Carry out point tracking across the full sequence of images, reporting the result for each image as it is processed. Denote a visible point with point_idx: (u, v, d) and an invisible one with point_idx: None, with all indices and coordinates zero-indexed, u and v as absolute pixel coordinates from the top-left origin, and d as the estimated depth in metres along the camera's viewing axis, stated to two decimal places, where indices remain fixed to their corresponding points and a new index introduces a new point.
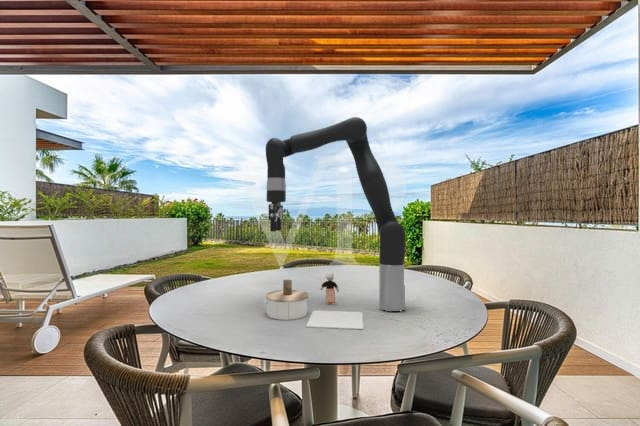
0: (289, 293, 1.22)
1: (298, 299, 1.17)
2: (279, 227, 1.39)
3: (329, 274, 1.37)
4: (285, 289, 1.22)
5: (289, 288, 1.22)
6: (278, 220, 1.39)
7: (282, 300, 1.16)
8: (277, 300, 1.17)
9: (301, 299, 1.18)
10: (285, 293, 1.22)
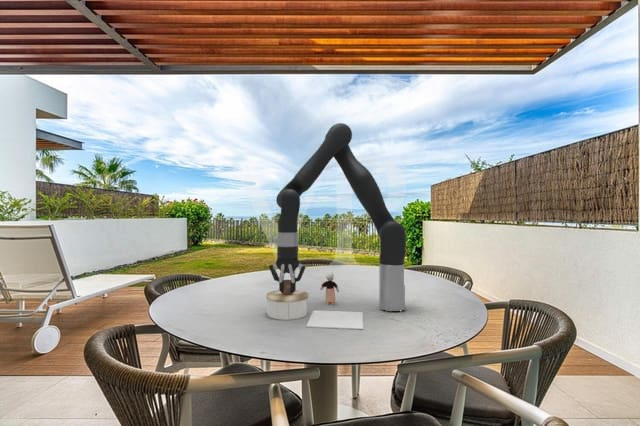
0: (289, 293, 1.22)
1: (298, 299, 1.17)
2: None
3: (329, 274, 1.37)
4: (285, 289, 1.22)
5: (289, 288, 1.22)
6: None
7: (282, 300, 1.16)
8: (277, 300, 1.17)
9: (301, 299, 1.18)
10: (285, 293, 1.22)
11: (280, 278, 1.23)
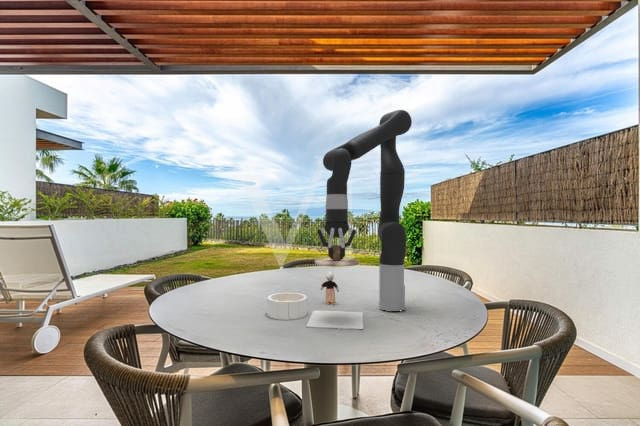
0: (339, 259, 1.15)
1: (351, 264, 1.10)
2: None
3: (329, 274, 1.37)
4: (335, 254, 1.15)
5: (339, 253, 1.15)
6: None
7: (334, 264, 1.09)
8: (329, 264, 1.10)
9: (353, 264, 1.11)
10: (335, 259, 1.15)
11: (330, 243, 1.16)
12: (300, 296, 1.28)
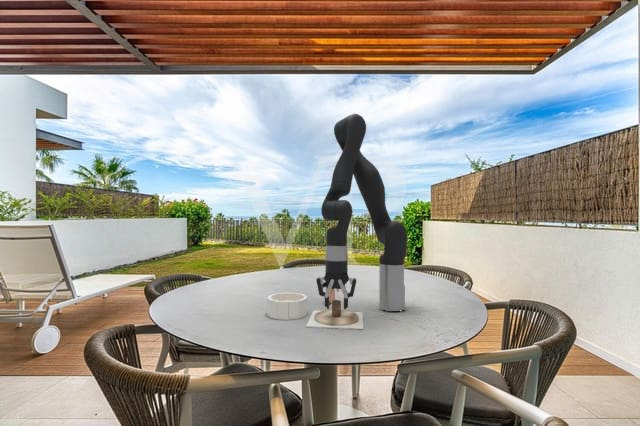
0: (339, 315, 1.15)
1: (350, 322, 1.10)
2: None
3: None
4: (334, 311, 1.15)
5: (339, 309, 1.15)
6: (328, 295, 1.17)
7: (334, 323, 1.09)
8: (328, 323, 1.09)
9: (353, 322, 1.11)
10: (334, 315, 1.15)
11: (327, 293, 1.16)
12: (300, 296, 1.28)
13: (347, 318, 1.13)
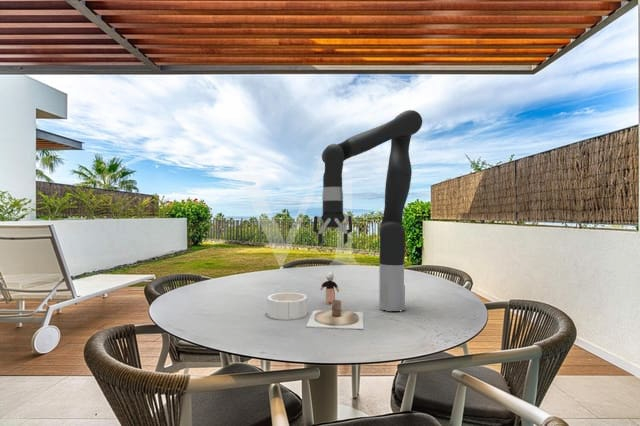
0: (339, 315, 1.15)
1: (350, 322, 1.10)
2: (322, 240, 1.26)
3: (329, 274, 1.37)
4: (334, 311, 1.15)
5: (339, 309, 1.15)
6: (321, 233, 1.26)
7: (334, 323, 1.09)
8: (328, 323, 1.09)
9: (353, 322, 1.11)
10: (334, 315, 1.15)
11: (321, 230, 1.24)
12: (300, 296, 1.28)
13: (347, 318, 1.13)
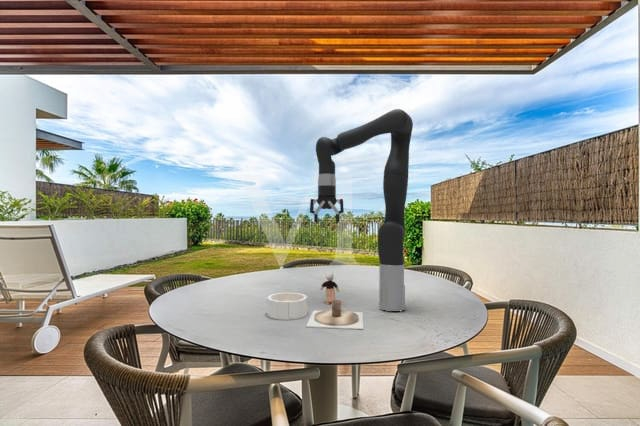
0: (339, 315, 1.15)
1: (350, 322, 1.10)
2: (317, 220, 1.46)
3: (329, 274, 1.37)
4: (334, 311, 1.15)
5: (339, 309, 1.15)
6: None
7: (334, 323, 1.09)
8: (328, 323, 1.09)
9: (353, 322, 1.11)
10: (334, 315, 1.15)
11: (316, 211, 1.44)
12: (300, 296, 1.28)
13: (347, 318, 1.13)
